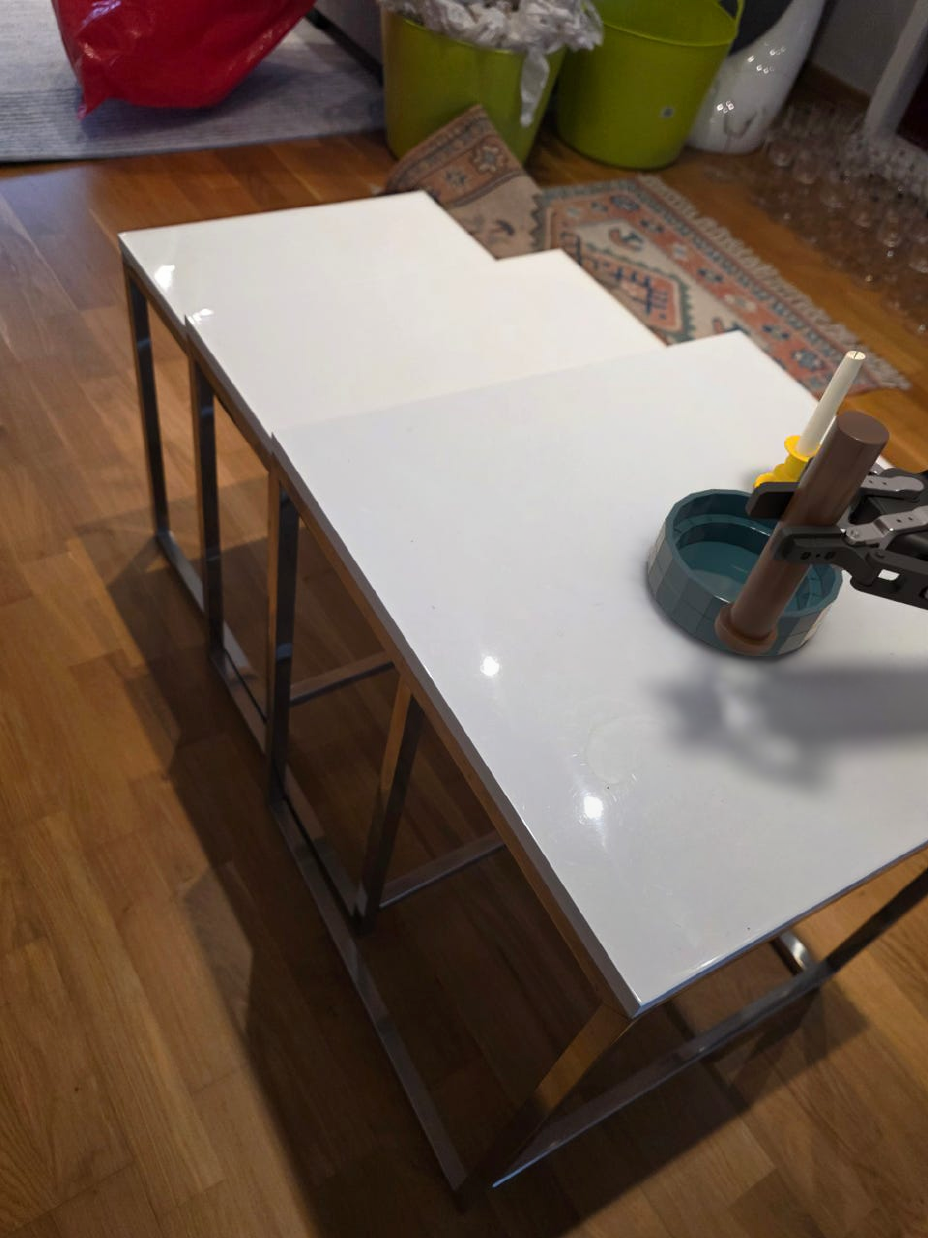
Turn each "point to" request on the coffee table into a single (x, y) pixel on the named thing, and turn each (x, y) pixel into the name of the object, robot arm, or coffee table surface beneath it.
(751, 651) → the rod
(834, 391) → the candle
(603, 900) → the coffee table surface
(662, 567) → the bowl
